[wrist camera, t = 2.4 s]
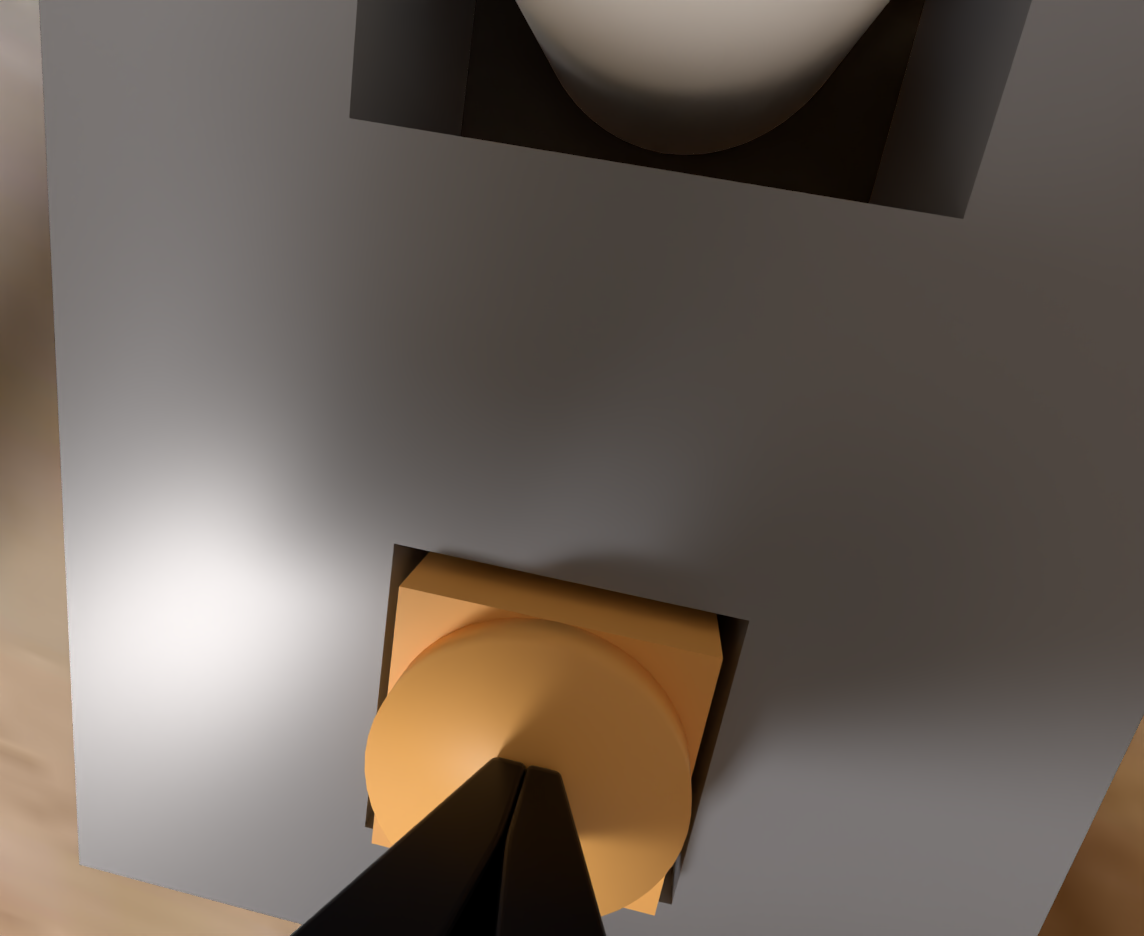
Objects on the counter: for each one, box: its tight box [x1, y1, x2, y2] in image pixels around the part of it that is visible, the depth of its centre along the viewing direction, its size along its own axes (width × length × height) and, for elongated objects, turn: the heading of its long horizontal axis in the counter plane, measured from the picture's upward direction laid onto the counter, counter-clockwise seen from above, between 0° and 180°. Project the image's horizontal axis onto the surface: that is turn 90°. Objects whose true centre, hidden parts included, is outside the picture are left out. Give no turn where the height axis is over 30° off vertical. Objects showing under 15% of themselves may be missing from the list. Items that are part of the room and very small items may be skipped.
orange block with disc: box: [365, 551, 723, 916], centre depth 10 cm, size 4×4×5 cm
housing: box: [39, 0, 1144, 936], centre depth 10 cm, size 20×14×4 cm
